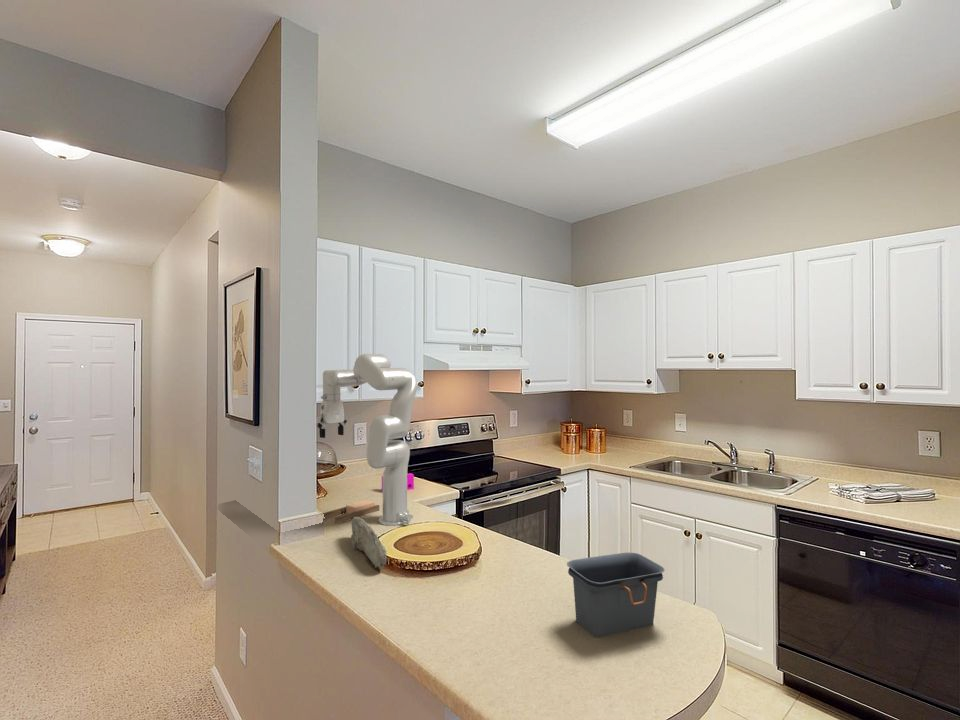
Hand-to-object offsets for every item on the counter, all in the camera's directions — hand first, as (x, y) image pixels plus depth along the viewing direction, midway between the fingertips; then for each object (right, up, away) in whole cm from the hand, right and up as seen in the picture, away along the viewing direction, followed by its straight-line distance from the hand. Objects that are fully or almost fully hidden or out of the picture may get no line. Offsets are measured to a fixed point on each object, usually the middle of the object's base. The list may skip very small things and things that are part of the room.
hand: (331, 436), depth 221 cm
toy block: (+25, -30, +22) cm, 45 cm away
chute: (+14, -29, -19) cm, 37 cm away
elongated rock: (+29, -30, -61) cm, 74 cm away
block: (+16, -30, -15) cm, 37 cm away
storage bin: (+99, -29, -104) cm, 146 cm away
